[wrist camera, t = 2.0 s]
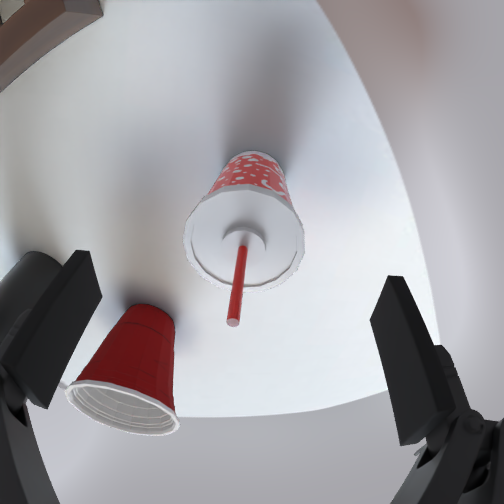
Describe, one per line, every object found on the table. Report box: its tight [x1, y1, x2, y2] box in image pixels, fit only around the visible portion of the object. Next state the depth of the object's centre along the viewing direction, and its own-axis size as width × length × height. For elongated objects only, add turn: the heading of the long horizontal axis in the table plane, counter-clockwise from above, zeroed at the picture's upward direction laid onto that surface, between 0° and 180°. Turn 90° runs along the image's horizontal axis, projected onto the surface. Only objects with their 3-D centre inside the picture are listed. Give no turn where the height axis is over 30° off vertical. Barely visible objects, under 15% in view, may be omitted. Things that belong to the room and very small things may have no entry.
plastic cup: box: [65, 304, 180, 436], centre depth 28 cm, size 11×11×12 cm
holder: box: [0, 0, 103, 92], centre depth 11 cm, size 13×13×5 cm
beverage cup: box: [183, 151, 305, 327], centre depth 17 cm, size 6×6×14 cm
